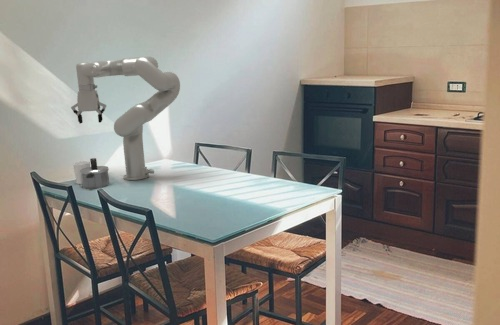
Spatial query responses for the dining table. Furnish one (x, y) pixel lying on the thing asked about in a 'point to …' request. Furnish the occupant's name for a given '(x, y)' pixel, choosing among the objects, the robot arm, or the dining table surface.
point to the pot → (95, 180)
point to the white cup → (78, 167)
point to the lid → (94, 168)
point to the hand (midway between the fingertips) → (90, 122)
